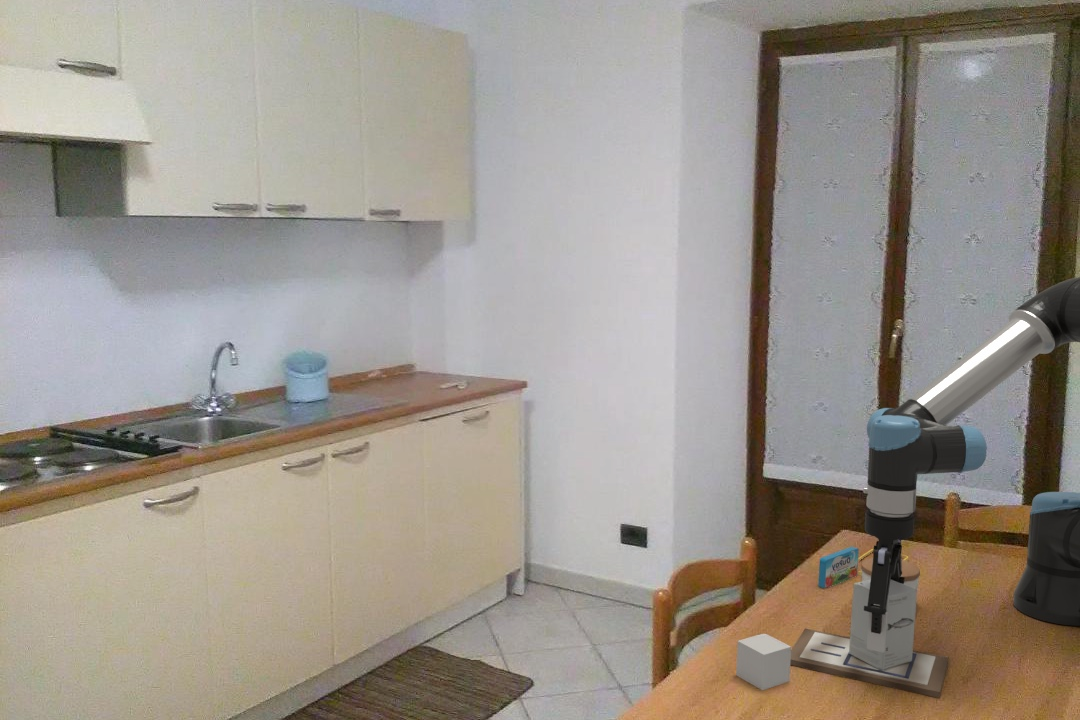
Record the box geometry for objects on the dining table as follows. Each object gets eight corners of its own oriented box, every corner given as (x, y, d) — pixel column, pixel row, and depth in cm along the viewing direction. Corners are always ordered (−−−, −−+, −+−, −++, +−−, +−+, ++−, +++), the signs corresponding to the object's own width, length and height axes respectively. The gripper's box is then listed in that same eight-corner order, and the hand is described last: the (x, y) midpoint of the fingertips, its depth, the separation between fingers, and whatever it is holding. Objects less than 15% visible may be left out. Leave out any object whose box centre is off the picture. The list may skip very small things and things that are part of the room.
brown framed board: (948, 663, 163) (949, 655, 163) (939, 698, 151) (940, 690, 151) (804, 633, 174) (805, 626, 174) (785, 663, 162) (785, 656, 162)
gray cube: (735, 675, 158) (737, 640, 157) (762, 667, 161) (764, 633, 160) (762, 690, 153) (764, 654, 152) (789, 682, 156) (791, 646, 155)
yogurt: (824, 589, 196) (826, 560, 195) (818, 587, 197) (819, 558, 196) (857, 576, 204) (858, 548, 203) (850, 574, 205) (852, 546, 204)
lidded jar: (908, 595, 193) (911, 550, 192) (924, 616, 183) (927, 569, 181) (853, 592, 194) (856, 547, 193) (866, 613, 184) (869, 566, 182)
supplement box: (881, 671, 157) (886, 597, 155) (847, 653, 163) (851, 581, 161) (913, 662, 160) (918, 589, 158) (878, 645, 167) (883, 574, 165)
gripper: (878, 489, 171) (871, 604, 173) (851, 528, 149) (844, 658, 152) (923, 495, 167) (916, 612, 170) (903, 535, 145) (895, 669, 148)
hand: (882, 634), depth 161 cm, fingers open, 13 cm apart
